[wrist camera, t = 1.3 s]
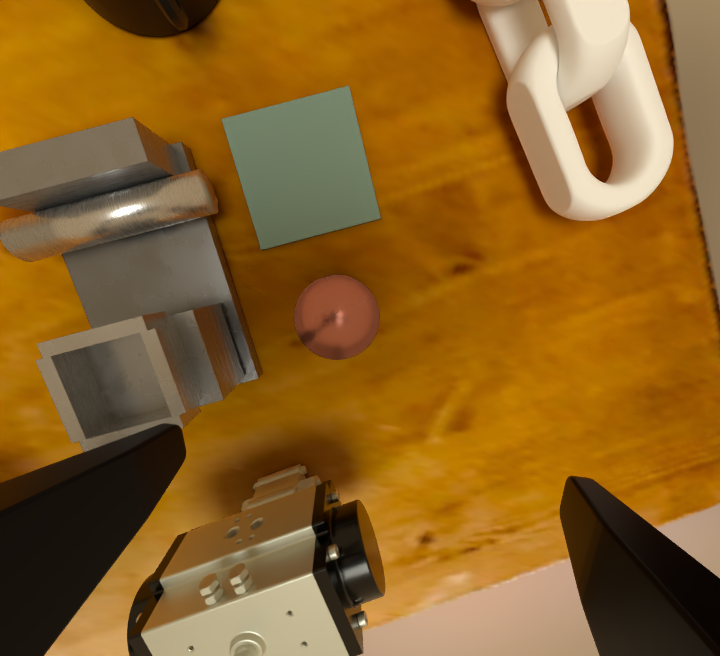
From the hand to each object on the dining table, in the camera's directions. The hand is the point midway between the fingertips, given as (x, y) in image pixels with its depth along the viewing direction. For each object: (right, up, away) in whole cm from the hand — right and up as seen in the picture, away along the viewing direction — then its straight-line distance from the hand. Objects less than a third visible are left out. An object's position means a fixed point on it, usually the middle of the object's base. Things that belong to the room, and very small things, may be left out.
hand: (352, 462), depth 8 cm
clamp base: (-13, +6, +15) cm, 20 cm away
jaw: (-12, +1, +14) cm, 18 cm away
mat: (-3, +13, +14) cm, 19 cm away
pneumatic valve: (-5, -8, +18) cm, 20 cm away
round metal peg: (-1, +5, +15) cm, 16 cm away
